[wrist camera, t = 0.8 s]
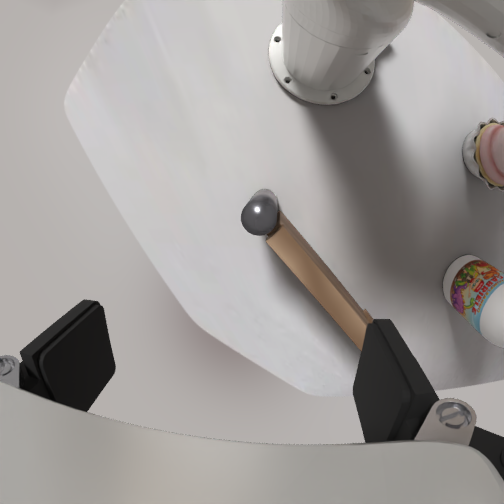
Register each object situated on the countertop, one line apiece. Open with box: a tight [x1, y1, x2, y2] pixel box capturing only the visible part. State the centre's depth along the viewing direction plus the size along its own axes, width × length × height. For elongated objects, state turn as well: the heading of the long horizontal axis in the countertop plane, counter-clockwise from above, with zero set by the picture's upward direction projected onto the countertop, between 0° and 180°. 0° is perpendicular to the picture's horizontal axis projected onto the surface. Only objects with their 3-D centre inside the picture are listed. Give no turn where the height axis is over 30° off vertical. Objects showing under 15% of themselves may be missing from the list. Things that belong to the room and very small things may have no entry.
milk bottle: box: [443, 255, 504, 348], centre depth 28 cm, size 8×8×20 cm
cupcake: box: [462, 118, 504, 192], centre depth 28 cm, size 9×9×10 cm
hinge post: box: [241, 189, 278, 236], centre depth 32 cm, size 3×3×11 cm
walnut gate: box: [266, 211, 374, 351], centre depth 33 cm, size 2×19×9 cm, turn 42°
